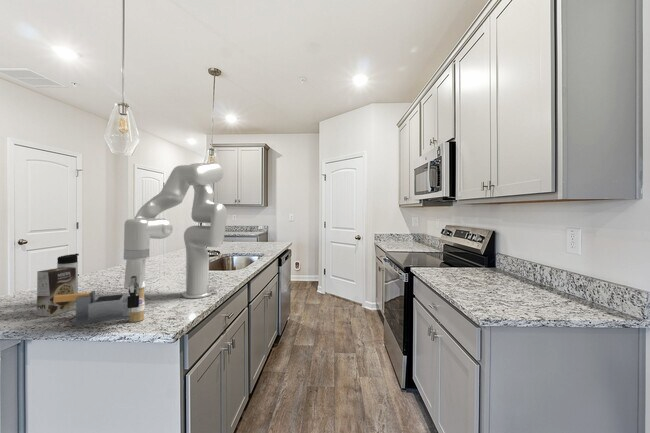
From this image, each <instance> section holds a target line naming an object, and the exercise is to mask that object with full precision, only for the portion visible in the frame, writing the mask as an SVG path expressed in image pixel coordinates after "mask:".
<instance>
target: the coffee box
mask: <svg viewBox="0 0 650 433" xmlns="http://www.w3.org/2000/svg"><path fill="white" fill-rule="evenodd" d="M36 272H37V273H36V274H37V277H36V278H37V279H36V282H37V283H36V284H37V285H36V316H38V317H39V316H40V317H49V318H52V317H54V316H55V317H56V316H58V315H60V314H63V313H66V312H69V311H73V310H76V301H66V302H55V303H54V296H56V295H65V294H76V268H73V267H61V268H57V267H56V268H50V269H44V270H43V269H42V270H40V271H39V270H38V271H36Z"/></svg>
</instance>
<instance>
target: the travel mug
mask: <svg viewBox="0 0 650 433" xmlns="http://www.w3.org/2000/svg"><path fill="white" fill-rule="evenodd" d="M78 256H80V254H79V253H73V254H65V255H61V256H58V257H57V263H56V264H57V267H56V268H61V267H73V268H76V294H77V293H79V282H78V281H79V274H78V273H79V264H78V263H79V261H78V260H79V259H78Z"/></svg>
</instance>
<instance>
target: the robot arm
mask: <svg viewBox="0 0 650 433" xmlns="http://www.w3.org/2000/svg"><path fill="white" fill-rule="evenodd" d="M223 177H224V169H223V167H222V165H221V164H219V163H217V162H200V163H199V162H198V163H197V162H196V163H190V164H181V165H176V166H175V167H174V168H173V169H172V170H171V172H170V175H169V176H168V178H167V179H166V181H165V183H164V185H163V187H162V188H161V191H160V192H159V193H158V194H156V195H155V196H153V197H152V198H150V199H149V200H148V201H146V202H145V203H144V204H143V205H142V206H141V207H140V208H139V210H138V211H137V212H136V215H135V216H134V218H129V219H126V220H125V221H124V224H123V226H124V229H123V231H124V232H123V260H125V270H124V285H123V286H124V287H123V288H124V290H128V291H127V293H128V301H127V308H137V307H139V295H138V292H139V288H141V287H142V285H143V282H145V280H146V260H147V259H149V258H150V245H151V244H150V240H151V239H154V240H155V239H157V240H158V239H159V240H160V239H161V240H162V239H166V238H169V236H171V235H172V233H173V229H174V228H173V224H172V222H170V221H169V220H167V219H165V218H156V217H157V216H159V214H162V213H163V212H165V211H167V210H169V209H172V208H174V207H176V206H179V205H180V204H182V203H183V201H184V199H185V197H186V195H187V193H188V190H189V189H190V187H191V186H192V188H193V190H194V192H193V199H192V200H193V201H192V208H191V213H190V214H191V215H190V216H191V219H192V221H193V222H195V223H198V224H210V225H191V226H189V227H187V228H186V229H185V230H184V233H183V242H184V246H185V256H186V257H185V290H184V291H183V292H182V294H181V297H183V298H184V299H200V298H206V297H208V296H211V295H212V294H213V290H220V284H210V281H209V279H210V277H209V276H210V273H209V272H210V255H209V252H208V250H207V248H218V247H220V246H221V245H223V242H224V239H225V235H226V234H225V233H226V226H227V220H228V219H227V218H228V211H227V208H226V206H225V205H224V204H223V203H221V202H214V199H215V198H214V197H215V193H214V189H213V188H212V186H211V184H214V183H218V182H220V181H222V179H223Z"/></svg>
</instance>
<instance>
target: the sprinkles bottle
mask: <svg viewBox="0 0 650 433" xmlns="http://www.w3.org/2000/svg"><path fill="white" fill-rule="evenodd" d="M145 283H146V282H145V281H144V282H143V285H142V287H141V288H139V292H138V295H139V307H137V308H129V312H130V318H128V319H129V320H128V321H129V322H131V323H137V322H141V321H143V320H145V287H146V285H145Z"/></svg>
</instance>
